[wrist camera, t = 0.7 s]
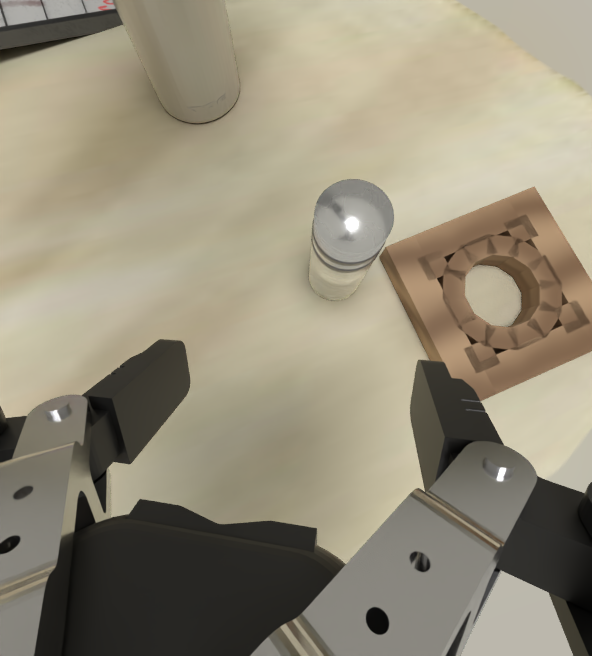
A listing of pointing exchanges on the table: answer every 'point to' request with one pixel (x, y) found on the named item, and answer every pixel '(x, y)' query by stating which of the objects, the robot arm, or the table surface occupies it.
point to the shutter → (53, 20)
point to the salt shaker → (347, 236)
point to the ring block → (529, 274)
